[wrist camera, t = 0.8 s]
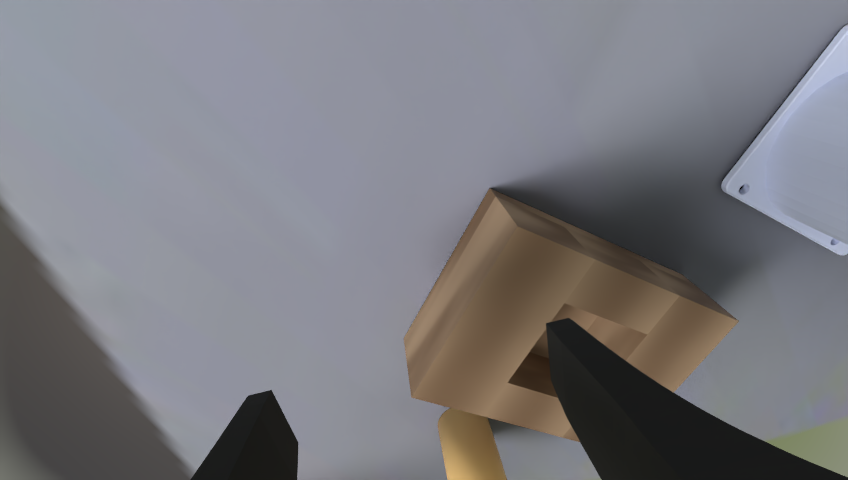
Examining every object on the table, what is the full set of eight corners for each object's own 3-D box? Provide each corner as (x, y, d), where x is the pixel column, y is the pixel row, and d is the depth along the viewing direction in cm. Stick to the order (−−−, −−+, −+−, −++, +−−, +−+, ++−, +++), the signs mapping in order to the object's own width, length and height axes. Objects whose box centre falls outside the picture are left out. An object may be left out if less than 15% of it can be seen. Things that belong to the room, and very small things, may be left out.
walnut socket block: (682, 274, 23) (738, 321, 20) (584, 394, 27) (618, 452, 23) (489, 187, 20) (517, 226, 16) (403, 338, 23) (411, 397, 20)
